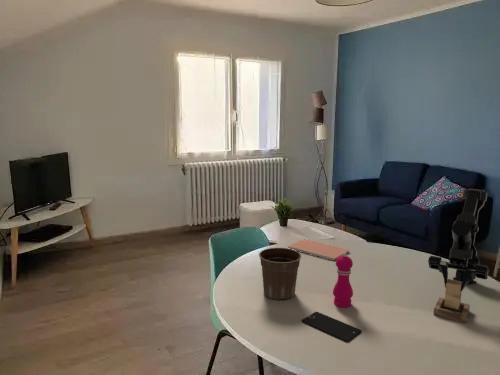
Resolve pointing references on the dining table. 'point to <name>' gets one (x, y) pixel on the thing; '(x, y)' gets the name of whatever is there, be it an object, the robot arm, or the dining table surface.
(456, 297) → the oak block
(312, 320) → the cell phone
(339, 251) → the notebook
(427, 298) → the dining table surface
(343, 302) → the pepper mill
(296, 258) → the plant pot
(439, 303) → the walnut holder
